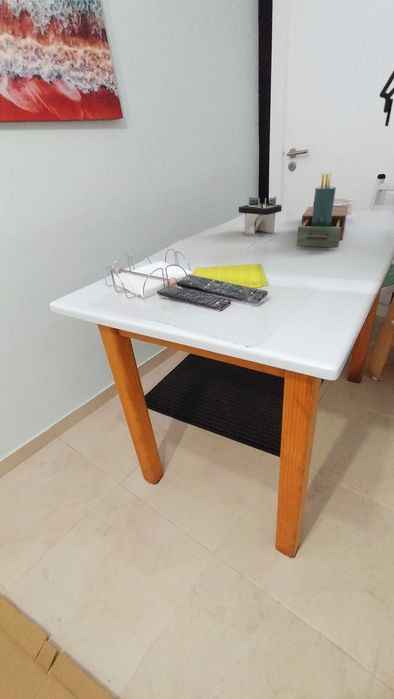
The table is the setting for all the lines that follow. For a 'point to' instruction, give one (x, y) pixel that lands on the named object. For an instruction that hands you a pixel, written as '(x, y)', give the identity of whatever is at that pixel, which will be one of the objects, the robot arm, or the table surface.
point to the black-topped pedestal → (260, 215)
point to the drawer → (319, 234)
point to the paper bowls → (344, 204)
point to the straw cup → (323, 203)
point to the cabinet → (337, 214)
